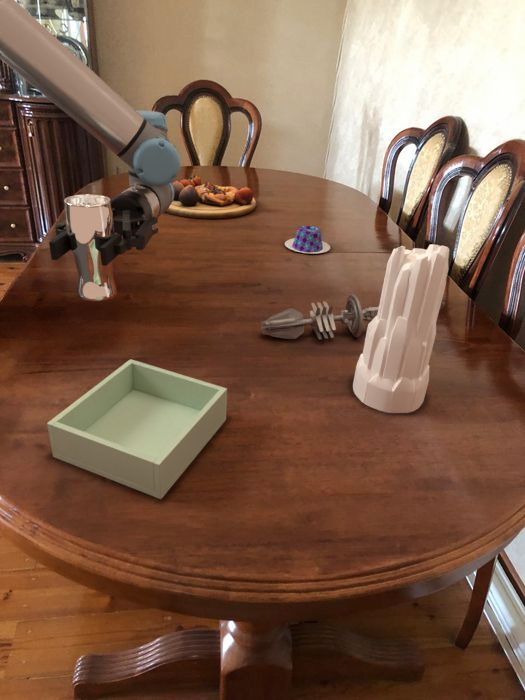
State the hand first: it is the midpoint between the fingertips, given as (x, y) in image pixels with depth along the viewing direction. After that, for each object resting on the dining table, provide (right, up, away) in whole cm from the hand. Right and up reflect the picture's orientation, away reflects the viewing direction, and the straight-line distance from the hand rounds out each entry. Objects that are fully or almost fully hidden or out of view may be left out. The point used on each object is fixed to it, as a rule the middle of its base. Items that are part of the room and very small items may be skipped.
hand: (77, 253), depth 76 cm
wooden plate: (+9, +32, +91) cm, 97 cm away
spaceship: (+43, -11, +22) cm, 50 cm away
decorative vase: (+46, -21, +6) cm, 51 cm away
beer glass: (0, -5, +9) cm, 10 cm away
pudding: (+38, +13, +62) cm, 74 cm away
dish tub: (+11, -26, -7) cm, 29 cm away
